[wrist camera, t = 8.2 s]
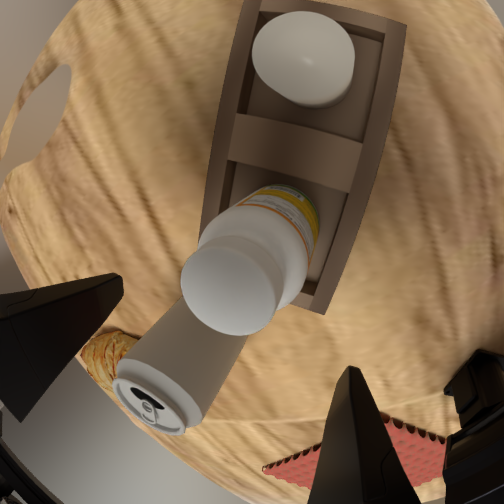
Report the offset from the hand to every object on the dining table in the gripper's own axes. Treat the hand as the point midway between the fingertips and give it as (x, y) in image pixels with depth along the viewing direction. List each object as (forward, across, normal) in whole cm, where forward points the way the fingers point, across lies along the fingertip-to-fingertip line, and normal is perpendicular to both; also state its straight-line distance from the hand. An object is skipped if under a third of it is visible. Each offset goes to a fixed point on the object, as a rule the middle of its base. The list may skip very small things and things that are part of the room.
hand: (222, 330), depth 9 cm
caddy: (+12, +1, -6) cm, 13 cm away
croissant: (+13, +17, +26) cm, 33 cm away
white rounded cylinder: (+11, +1, -11) cm, 15 cm away
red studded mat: (+13, -25, +34) cm, 45 cm away
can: (+12, +5, +12) cm, 18 cm away
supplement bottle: (+11, +1, 0) cm, 11 cm away
